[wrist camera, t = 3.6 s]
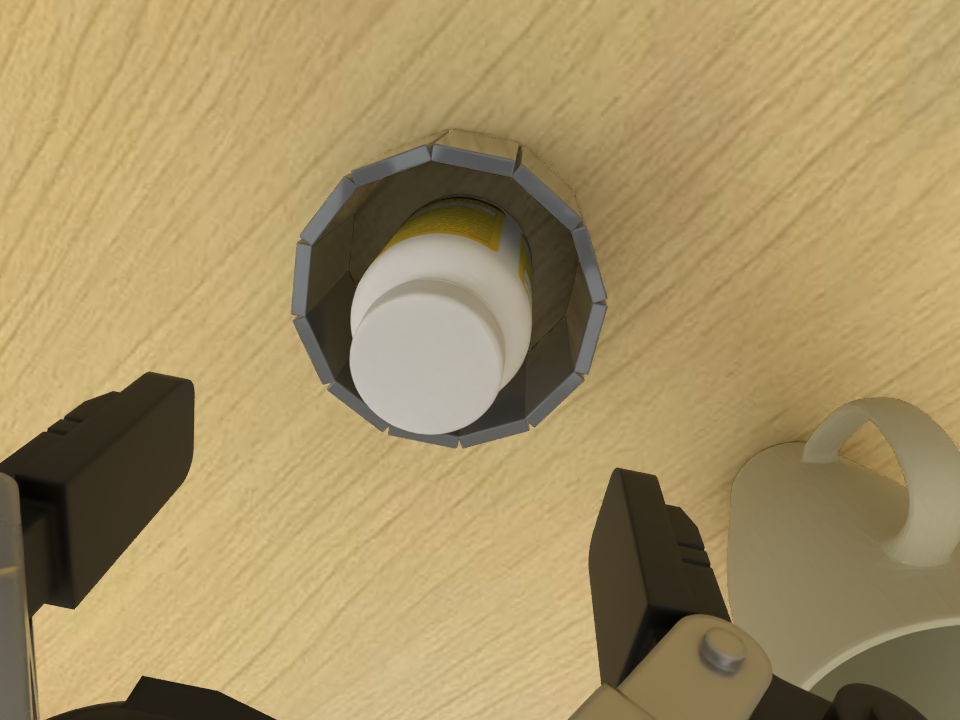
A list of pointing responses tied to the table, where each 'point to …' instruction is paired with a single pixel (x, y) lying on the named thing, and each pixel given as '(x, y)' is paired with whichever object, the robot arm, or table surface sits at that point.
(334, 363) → the grey ring
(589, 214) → the table surface
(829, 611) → the mug
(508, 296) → the supplement bottle
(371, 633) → the table surface
